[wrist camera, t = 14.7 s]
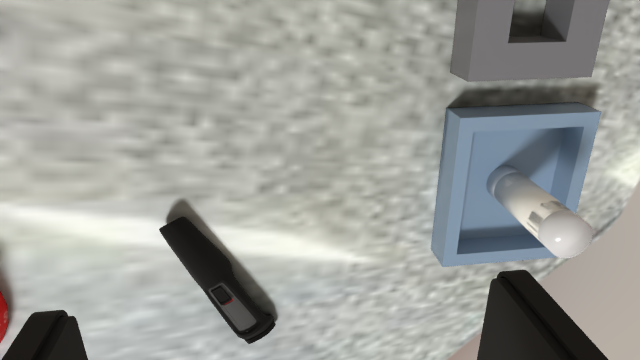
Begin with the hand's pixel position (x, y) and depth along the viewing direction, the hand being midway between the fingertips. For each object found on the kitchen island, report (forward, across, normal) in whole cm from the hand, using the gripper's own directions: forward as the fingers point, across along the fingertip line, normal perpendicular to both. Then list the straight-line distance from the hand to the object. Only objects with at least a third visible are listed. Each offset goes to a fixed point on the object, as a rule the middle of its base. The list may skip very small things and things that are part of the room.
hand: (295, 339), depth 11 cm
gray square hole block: (+28, -20, -5) cm, 35 cm away
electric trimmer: (+29, +5, +18) cm, 35 cm away
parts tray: (+28, -21, +10) cm, 37 cm away
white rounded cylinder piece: (+28, -21, +10) cm, 36 cm away
